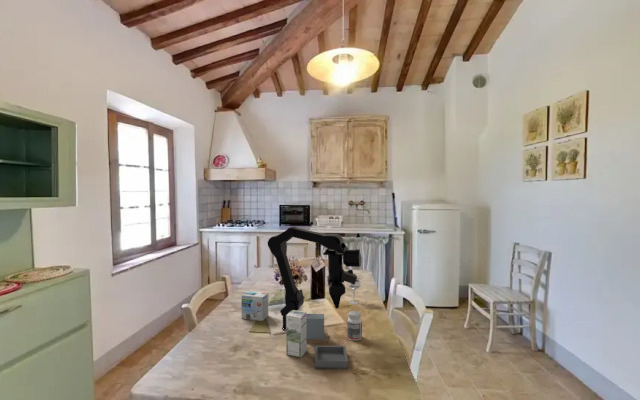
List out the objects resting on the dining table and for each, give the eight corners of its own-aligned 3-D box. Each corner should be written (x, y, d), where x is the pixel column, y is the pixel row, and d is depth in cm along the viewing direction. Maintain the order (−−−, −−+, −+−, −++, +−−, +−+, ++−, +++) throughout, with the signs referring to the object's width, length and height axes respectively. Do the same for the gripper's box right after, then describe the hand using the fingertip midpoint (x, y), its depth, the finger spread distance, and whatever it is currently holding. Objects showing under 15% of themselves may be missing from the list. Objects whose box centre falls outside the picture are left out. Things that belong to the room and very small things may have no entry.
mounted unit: (299, 343, 125) (299, 319, 125) (300, 335, 132) (300, 312, 132) (328, 343, 125) (328, 319, 125) (327, 335, 132) (327, 312, 132)
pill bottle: (352, 333, 134) (352, 309, 134) (364, 337, 130) (364, 312, 130) (344, 338, 129) (344, 313, 129) (356, 342, 126) (356, 316, 125)
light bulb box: (240, 318, 149) (240, 294, 148) (248, 313, 155) (247, 290, 155) (262, 321, 146) (262, 297, 146) (269, 315, 152) (269, 292, 152)
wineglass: (359, 305, 166) (360, 281, 165) (346, 304, 167) (346, 280, 167) (361, 300, 172) (361, 278, 172) (348, 299, 174) (348, 277, 173)
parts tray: (315, 368, 107) (315, 361, 107) (315, 352, 118) (315, 345, 118) (347, 368, 108) (347, 361, 107) (345, 352, 118) (345, 345, 118)
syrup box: (307, 350, 120) (307, 311, 119) (300, 358, 114) (300, 317, 113) (292, 348, 121) (292, 309, 121) (285, 355, 116) (285, 314, 115)
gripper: (358, 270, 124) (359, 312, 124) (352, 260, 143) (353, 296, 143) (328, 271, 124) (329, 313, 124) (326, 261, 143) (327, 297, 143)
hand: (336, 304), depth 134 cm, fingers open, 9 cm apart
